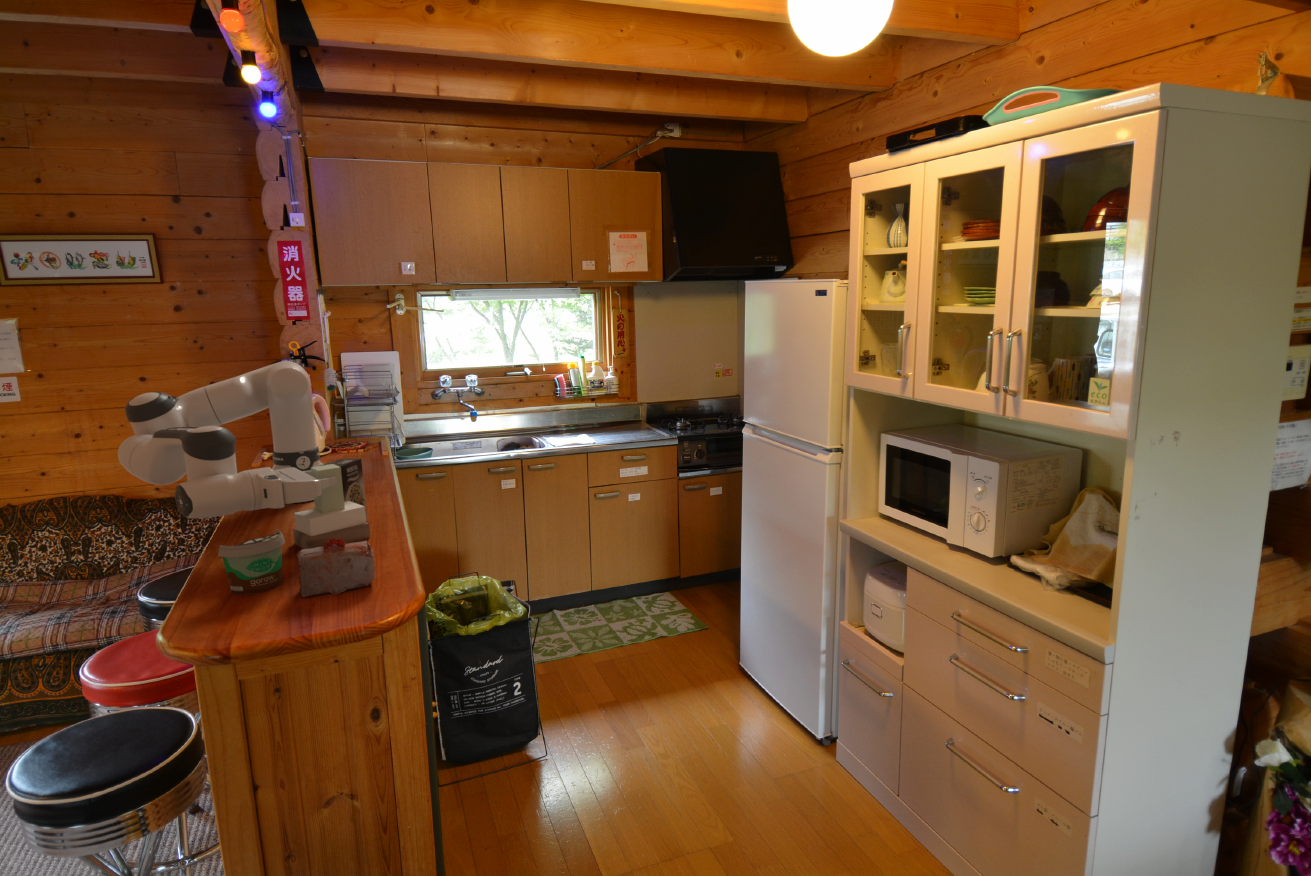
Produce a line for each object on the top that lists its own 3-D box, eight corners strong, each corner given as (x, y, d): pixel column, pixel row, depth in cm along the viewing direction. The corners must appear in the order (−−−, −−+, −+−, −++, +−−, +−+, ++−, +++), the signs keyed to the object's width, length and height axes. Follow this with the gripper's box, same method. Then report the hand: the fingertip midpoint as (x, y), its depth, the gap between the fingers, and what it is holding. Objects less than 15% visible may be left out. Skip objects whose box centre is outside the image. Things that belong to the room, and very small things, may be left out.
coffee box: (347, 530, 183) (340, 465, 180) (323, 529, 184) (316, 465, 181) (368, 519, 191) (362, 458, 189) (346, 518, 193) (339, 457, 190)
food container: (241, 601, 139) (234, 550, 138) (223, 595, 143) (216, 545, 141) (302, 580, 150) (297, 532, 148) (284, 575, 153) (278, 528, 151)
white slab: (295, 529, 172) (294, 513, 172) (350, 516, 182) (348, 500, 181) (311, 536, 167) (309, 519, 166) (366, 522, 176) (364, 506, 176)
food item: (373, 575, 152) (368, 528, 150) (378, 588, 145) (373, 539, 143) (299, 588, 146) (293, 539, 144) (300, 602, 139) (294, 551, 137)
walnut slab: (295, 545, 173) (293, 529, 173) (354, 532, 183) (353, 516, 182) (309, 554, 167) (307, 537, 166) (370, 539, 176) (368, 523, 176)
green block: (315, 509, 174) (310, 467, 172) (337, 504, 178) (332, 463, 176) (322, 513, 171) (318, 470, 169) (344, 508, 174) (340, 467, 172)
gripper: (253, 493, 173) (316, 482, 182) (278, 510, 157) (345, 498, 166) (250, 466, 172) (313, 457, 180) (275, 481, 156) (342, 470, 165)
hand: (329, 477), depth 173 cm, fingers open, 8 cm apart
